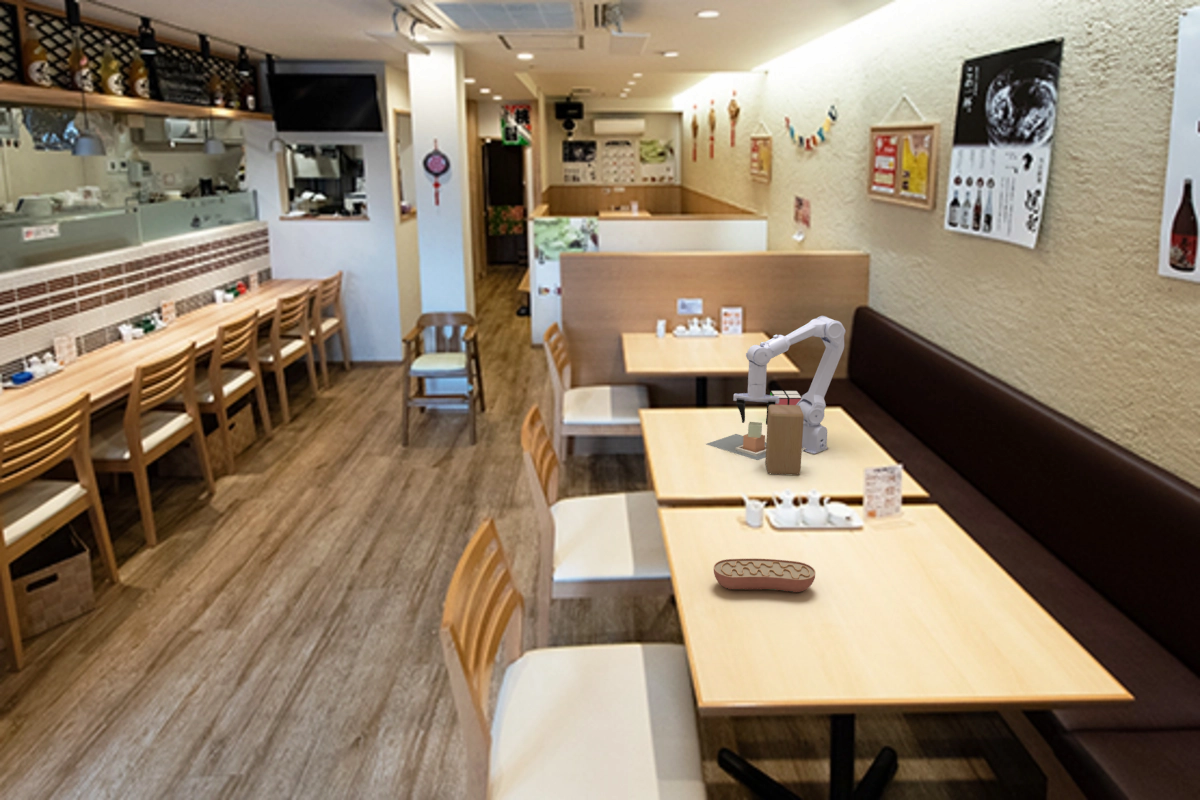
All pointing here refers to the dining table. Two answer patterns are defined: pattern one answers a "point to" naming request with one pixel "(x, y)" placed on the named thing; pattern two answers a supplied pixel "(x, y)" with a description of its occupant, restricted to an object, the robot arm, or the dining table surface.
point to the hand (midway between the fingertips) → (755, 422)
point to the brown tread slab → (764, 574)
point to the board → (737, 447)
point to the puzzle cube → (787, 397)
